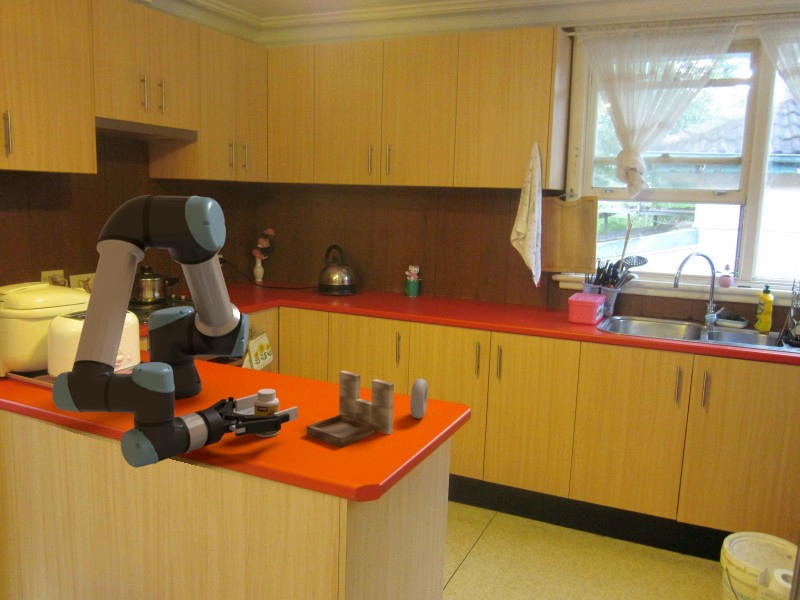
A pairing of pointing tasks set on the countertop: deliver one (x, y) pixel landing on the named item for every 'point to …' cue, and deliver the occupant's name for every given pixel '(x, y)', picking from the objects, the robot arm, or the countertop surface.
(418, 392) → the donut
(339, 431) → the square tray
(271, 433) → the supplement bottle
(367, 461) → the countertop surface
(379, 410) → the notched board
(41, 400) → the countertop surface
